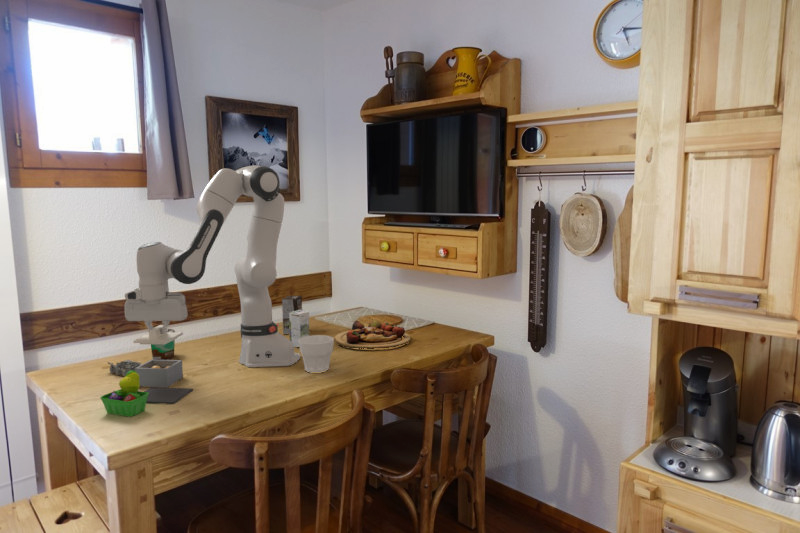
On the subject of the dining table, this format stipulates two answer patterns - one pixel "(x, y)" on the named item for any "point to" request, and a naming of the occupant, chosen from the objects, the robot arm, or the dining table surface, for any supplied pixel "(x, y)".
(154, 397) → the mat
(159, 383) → the crate
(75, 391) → the dining table surface
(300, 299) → the coffee box
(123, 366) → the egg carton
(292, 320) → the syrup box
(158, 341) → the lid
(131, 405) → the fruit basket
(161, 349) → the food container
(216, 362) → the dining table surface
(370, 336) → the wooden plate with food
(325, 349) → the cup
